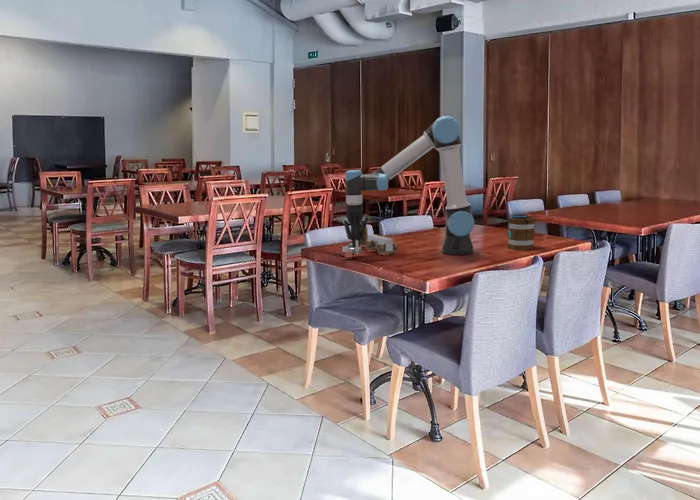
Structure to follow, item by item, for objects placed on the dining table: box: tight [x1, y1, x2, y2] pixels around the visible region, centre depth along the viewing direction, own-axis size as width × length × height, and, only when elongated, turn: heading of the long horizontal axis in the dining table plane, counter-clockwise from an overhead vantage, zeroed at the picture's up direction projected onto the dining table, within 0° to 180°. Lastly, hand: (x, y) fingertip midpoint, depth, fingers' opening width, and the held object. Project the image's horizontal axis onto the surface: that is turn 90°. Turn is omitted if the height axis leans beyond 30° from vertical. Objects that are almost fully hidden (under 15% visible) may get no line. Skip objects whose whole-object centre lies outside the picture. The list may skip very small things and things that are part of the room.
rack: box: [364, 241, 399, 255], centre depth 316 cm, size 16×9×5 cm, turn 28°
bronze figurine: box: [360, 213, 371, 245], centre depth 331 cm, size 9×14×18 cm, turn 17°
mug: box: [507, 215, 536, 251], centre depth 323 cm, size 20×14×15 cm
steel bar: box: [368, 234, 394, 251], centre depth 316 cm, size 17×4×6 cm, turn 29°
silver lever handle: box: [341, 242, 362, 259], centre depth 307 cm, size 17×9×5 cm, turn 173°
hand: (356, 253), depth 304 cm, fingers closed
